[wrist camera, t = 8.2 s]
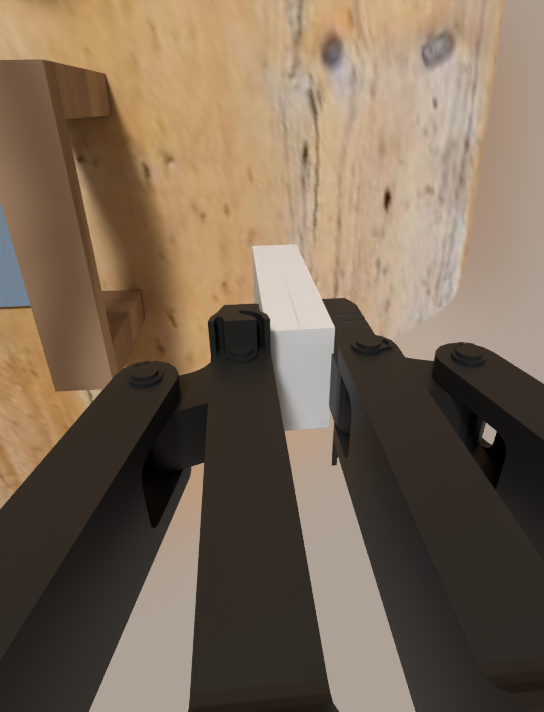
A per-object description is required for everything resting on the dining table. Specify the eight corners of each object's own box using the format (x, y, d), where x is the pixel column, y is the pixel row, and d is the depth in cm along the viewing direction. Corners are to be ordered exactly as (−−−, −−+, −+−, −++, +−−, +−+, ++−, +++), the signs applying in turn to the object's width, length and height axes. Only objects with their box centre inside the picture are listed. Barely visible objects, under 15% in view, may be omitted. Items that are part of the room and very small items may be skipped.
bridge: (101, 318, 32) (55, 391, 24) (49, 74, 25) (-42, 60, 17) (145, 316, 32) (114, 388, 24) (105, 73, 25) (42, 59, 17)
